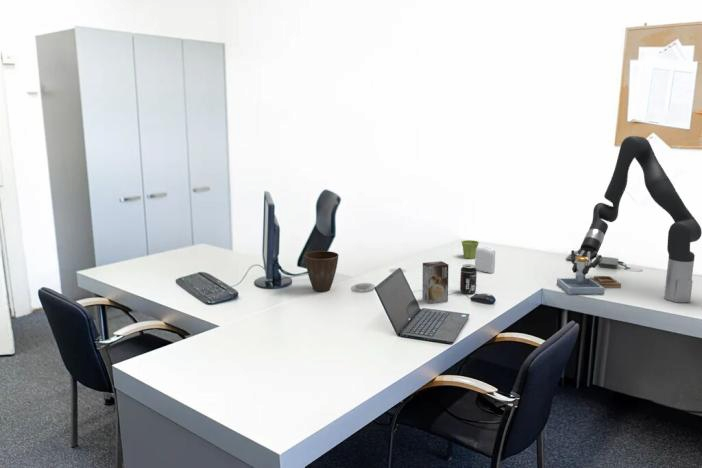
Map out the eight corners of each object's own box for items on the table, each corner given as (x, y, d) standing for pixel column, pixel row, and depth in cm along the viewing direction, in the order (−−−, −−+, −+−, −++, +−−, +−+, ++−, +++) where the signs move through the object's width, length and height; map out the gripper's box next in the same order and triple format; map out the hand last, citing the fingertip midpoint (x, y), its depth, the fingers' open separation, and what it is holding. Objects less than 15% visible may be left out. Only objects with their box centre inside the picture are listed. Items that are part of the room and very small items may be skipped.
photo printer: (473, 269, 286) (474, 245, 284) (478, 268, 289) (479, 244, 286) (490, 274, 278) (491, 249, 276) (495, 272, 281) (497, 247, 278)
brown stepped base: (620, 287, 255) (621, 281, 255) (598, 288, 255) (598, 281, 255) (610, 281, 265) (611, 275, 264) (589, 281, 265) (589, 275, 264)
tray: (603, 294, 246) (604, 288, 245) (569, 294, 246) (569, 288, 245) (589, 284, 261) (590, 278, 260) (556, 284, 261) (557, 278, 260)
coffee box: (441, 297, 244) (442, 260, 241) (448, 301, 238) (449, 264, 235) (421, 299, 241) (422, 262, 238) (427, 304, 235) (428, 266, 232)
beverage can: (457, 290, 252) (457, 264, 250) (470, 289, 255) (471, 263, 252) (465, 295, 246) (466, 268, 244) (478, 293, 248) (480, 266, 246)
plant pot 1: (332, 283, 265) (332, 249, 262) (343, 292, 251) (343, 257, 248) (301, 286, 260) (300, 252, 256) (311, 296, 246) (310, 260, 243)
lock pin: (586, 285, 251) (589, 258, 248) (576, 285, 251) (579, 258, 248) (582, 282, 255) (585, 256, 252) (573, 282, 255) (575, 256, 252)
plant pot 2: (457, 256, 313) (458, 240, 311) (472, 254, 316) (473, 239, 314) (465, 260, 304) (466, 244, 303) (481, 258, 307) (482, 243, 305)
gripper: (575, 234, 259) (561, 265, 253) (607, 238, 249) (593, 271, 243) (579, 243, 263) (565, 274, 258) (610, 248, 254) (597, 280, 248)
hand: (579, 272), depth 250 cm, fingers closed on lock pin, 4 cm apart
